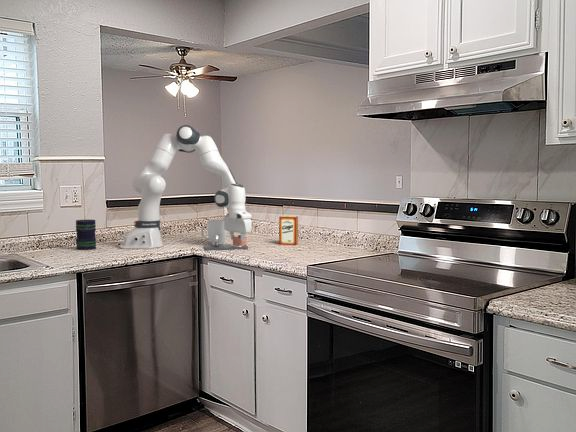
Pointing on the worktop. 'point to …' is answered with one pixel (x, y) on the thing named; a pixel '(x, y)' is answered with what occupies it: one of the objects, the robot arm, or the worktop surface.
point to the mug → (215, 230)
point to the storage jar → (85, 234)
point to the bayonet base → (223, 247)
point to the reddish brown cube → (237, 241)
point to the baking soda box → (288, 230)
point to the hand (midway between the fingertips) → (237, 240)
